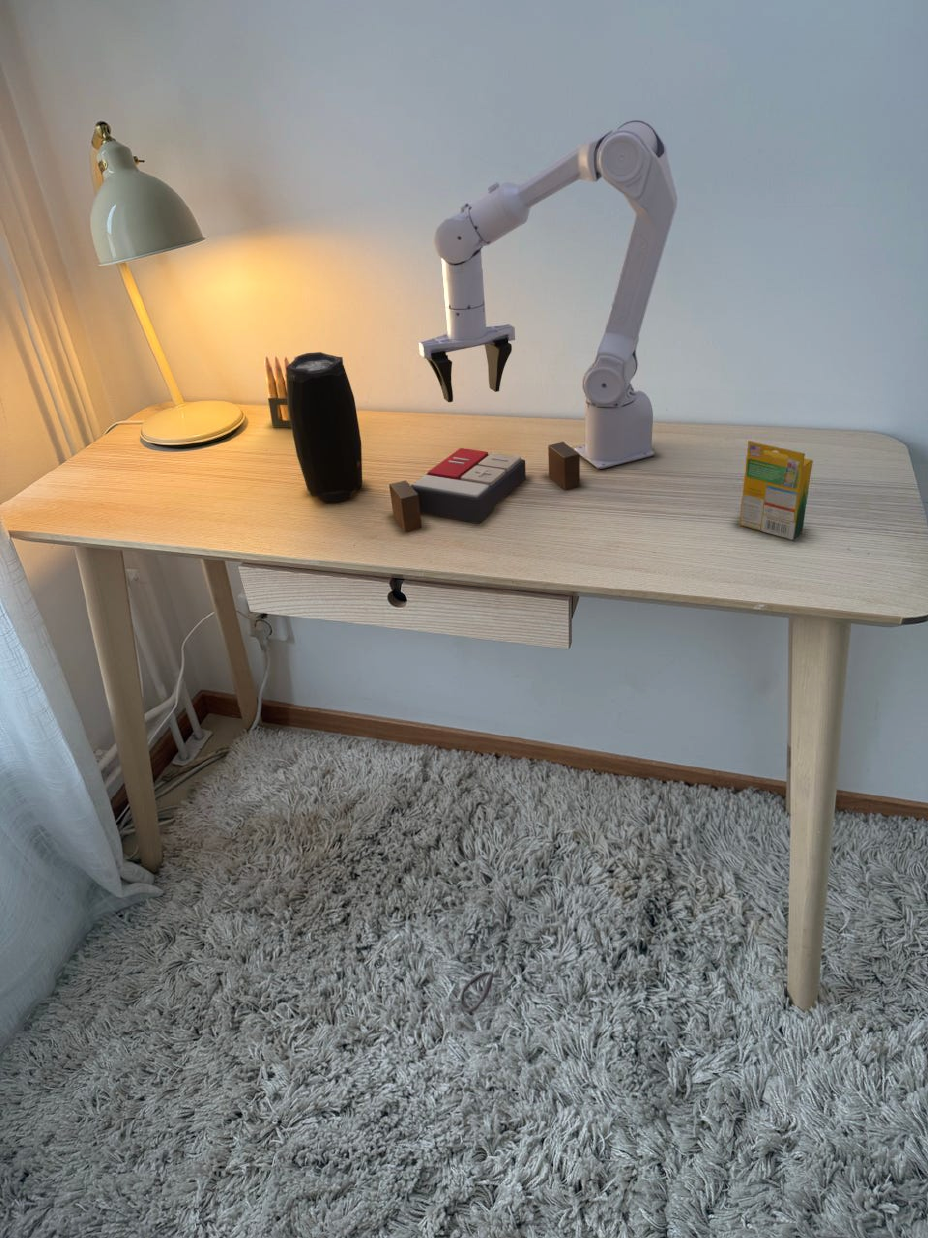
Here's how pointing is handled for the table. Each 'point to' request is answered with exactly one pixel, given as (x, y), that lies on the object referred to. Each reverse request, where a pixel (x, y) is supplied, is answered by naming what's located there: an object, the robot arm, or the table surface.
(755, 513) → the crayon box
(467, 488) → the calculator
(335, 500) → the portable speaker
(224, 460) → the table surface
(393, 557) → the table surface
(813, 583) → the table surface
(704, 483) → the table surface
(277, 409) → the ammunition clip
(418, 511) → the corner blocks
